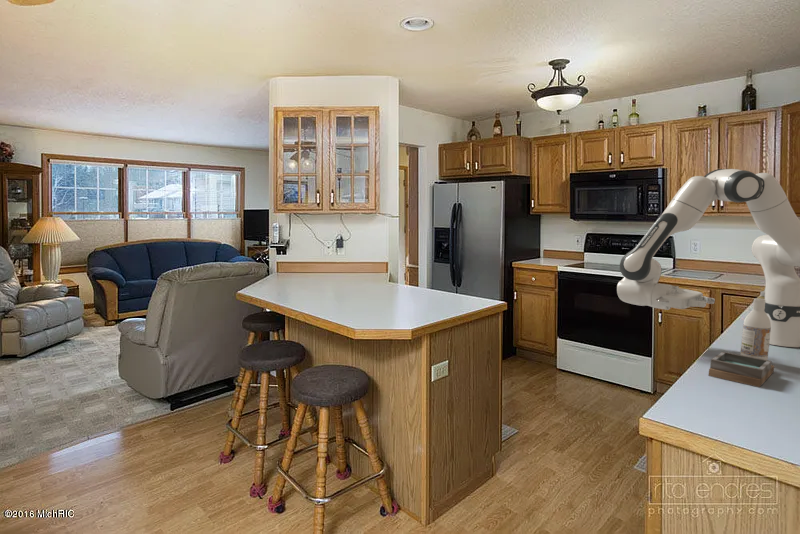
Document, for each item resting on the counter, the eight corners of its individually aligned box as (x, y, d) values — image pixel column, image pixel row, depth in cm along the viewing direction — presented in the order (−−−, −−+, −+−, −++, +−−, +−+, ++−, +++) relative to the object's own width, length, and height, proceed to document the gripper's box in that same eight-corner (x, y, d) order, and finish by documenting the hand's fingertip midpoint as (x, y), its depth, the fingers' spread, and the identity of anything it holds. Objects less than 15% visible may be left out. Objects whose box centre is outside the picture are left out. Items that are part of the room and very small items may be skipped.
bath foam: (761, 366, 146) (768, 302, 144) (736, 360, 152) (742, 298, 150) (771, 362, 150) (777, 299, 148) (745, 356, 156) (751, 296, 154)
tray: (725, 362, 150) (727, 348, 149) (773, 372, 141) (775, 357, 141) (708, 375, 138) (709, 360, 137) (759, 387, 129) (761, 371, 128)
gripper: (654, 290, 161) (701, 296, 151) (675, 285, 175) (719, 290, 165) (652, 309, 162) (699, 316, 152) (674, 302, 176) (717, 308, 166)
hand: (709, 302), depth 159 cm, fingers open, 8 cm apart
